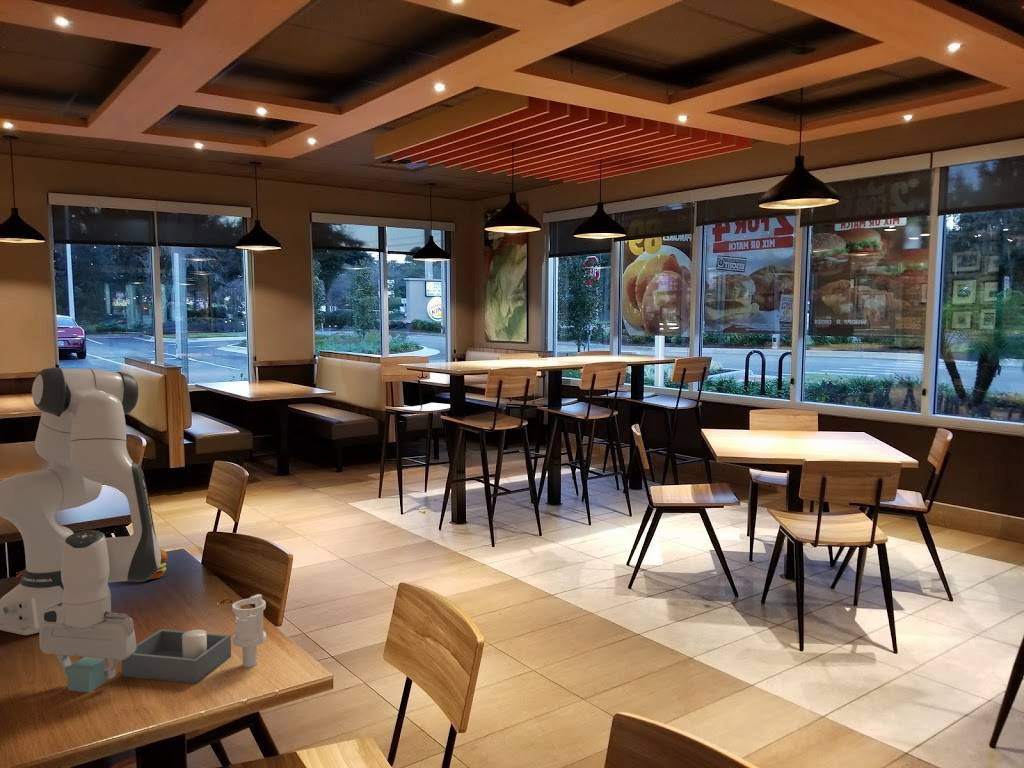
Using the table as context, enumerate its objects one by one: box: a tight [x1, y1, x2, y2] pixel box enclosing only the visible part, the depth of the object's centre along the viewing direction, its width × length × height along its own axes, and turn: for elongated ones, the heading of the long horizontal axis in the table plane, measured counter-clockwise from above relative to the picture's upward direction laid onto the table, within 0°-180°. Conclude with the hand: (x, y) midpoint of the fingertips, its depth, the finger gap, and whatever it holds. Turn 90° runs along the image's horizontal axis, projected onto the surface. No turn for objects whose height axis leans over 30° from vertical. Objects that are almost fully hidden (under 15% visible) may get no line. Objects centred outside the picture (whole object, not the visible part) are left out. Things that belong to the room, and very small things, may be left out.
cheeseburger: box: [135, 548, 170, 583], centre depth 230 cm, size 10×11×10 cm
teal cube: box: [67, 657, 107, 693], centre depth 161 cm, size 5×5×5 cm
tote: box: [121, 628, 232, 684], centre depth 170 cm, size 18×14×5 cm
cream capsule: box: [182, 629, 208, 659], centre depth 170 cm, size 5×5×7 cm
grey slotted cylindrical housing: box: [231, 593, 267, 668], centre depth 171 cm, size 7×7×15 cm
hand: (89, 675), depth 161 cm, fingers open, 8 cm apart
